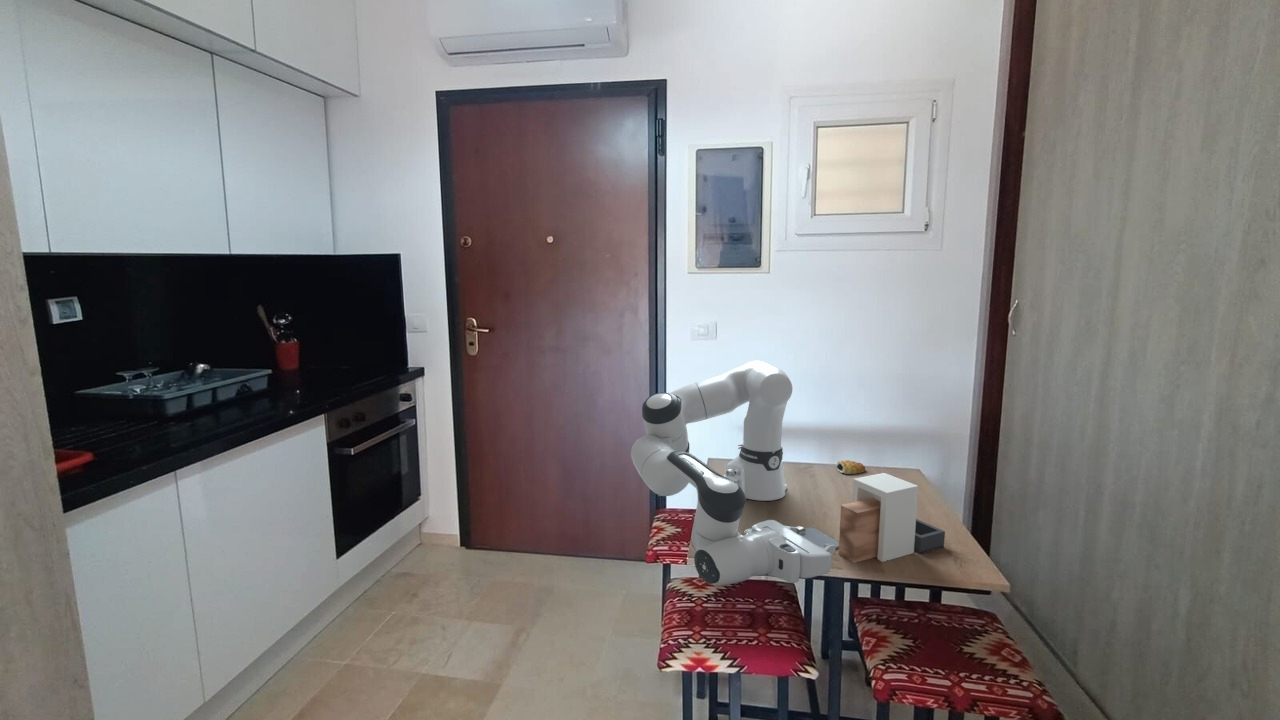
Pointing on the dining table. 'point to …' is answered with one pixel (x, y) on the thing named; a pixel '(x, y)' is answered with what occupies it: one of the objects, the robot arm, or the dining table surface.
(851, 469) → the pastry
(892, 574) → the dining table surface
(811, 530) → the mat
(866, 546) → the block
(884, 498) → the white arch frame
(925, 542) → the bin
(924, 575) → the dining table surface
